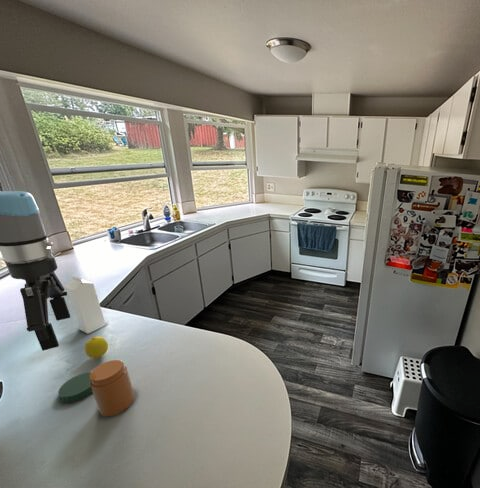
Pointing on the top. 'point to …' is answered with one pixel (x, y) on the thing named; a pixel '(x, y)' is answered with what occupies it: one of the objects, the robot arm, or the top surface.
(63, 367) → the top surface
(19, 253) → the robot arm
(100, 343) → the lemon
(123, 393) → the jam jar
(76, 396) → the jar lid
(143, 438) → the top surface
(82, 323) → the milk
